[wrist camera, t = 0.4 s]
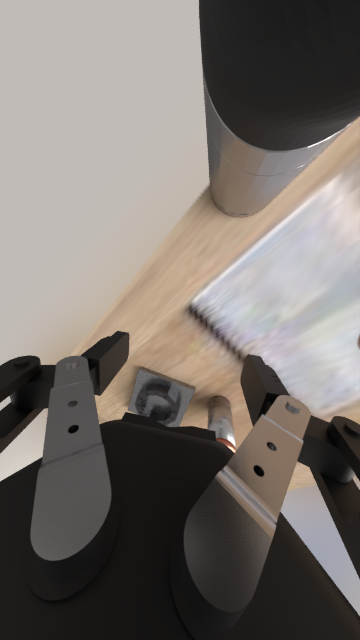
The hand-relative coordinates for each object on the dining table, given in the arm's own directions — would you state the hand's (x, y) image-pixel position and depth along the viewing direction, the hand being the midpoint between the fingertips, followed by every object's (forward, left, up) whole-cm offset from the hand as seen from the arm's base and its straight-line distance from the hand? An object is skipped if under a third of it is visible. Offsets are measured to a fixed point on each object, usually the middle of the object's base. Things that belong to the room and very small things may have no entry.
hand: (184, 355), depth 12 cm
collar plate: (+24, -1, -19) cm, 31 cm away
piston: (+20, +11, -19) cm, 30 cm away
